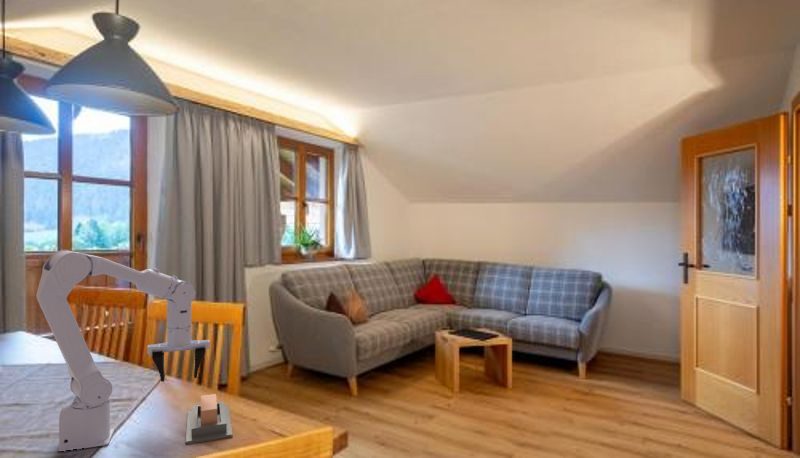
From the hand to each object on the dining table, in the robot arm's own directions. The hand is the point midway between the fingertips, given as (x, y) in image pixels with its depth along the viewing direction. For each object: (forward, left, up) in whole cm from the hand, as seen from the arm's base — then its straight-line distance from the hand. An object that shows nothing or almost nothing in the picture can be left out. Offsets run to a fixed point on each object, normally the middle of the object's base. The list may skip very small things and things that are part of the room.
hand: (179, 378), depth 122 cm
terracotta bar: (+7, -9, -9) cm, 14 cm away
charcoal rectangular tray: (+7, -9, -9) cm, 15 cm away
